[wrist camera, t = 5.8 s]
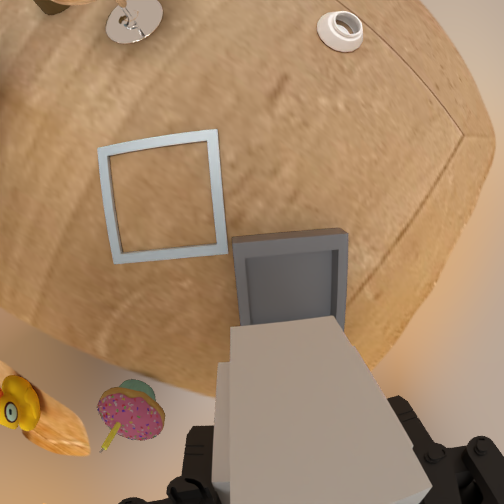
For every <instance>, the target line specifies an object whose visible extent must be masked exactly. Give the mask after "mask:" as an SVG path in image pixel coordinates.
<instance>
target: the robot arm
mask: <svg viewBox="0 0 504 504" xmlns="http://www.w3.org/2000/svg"><path fill="white" fill-rule="evenodd" d="M352 347H353V348H354V350H355V352H356V353H357V355H358V356H359V358H360V360H361V361H362V363H363V365H364V366H365V368H366V370H367V371H368V373H369V375H370V376H371V378H372V380H373V381H374V383H375V385H376V387H377V388H378V390H379V392H380V393H381V395H382V397H383V398H384V400H385V402H386V404H387V405H388V407H389V409H390V410H391V412H392V414H393V416H394V417H395V419H396V421H397V423H398V424H399V426H400V428H401V430H402V431H403V433H404V435H405V437H406V439H407V440H408V442H409V444H410V446H411V448H412V449H413V451H414V453H415V455H416V457H417V458H418V460H419V462H420V464H421V466H422V468H423V469H424V471H425V473H426V475H427V477H428V479H429V481H430V483H431V484H432V488H431V489H430V490H429V492H428V493H427V494H426V495H425V497H424V498H423V499H422V500H421V502H420V503H419V504H504V456H503V455H502V454H501V452H500V451H499V449H498V448H497V447H496V445H495V444H494V443H493V441H492V440H491V439H489V438H487V437H485V436H477V437H474V438H473V439H472V440H470V441H469V443H468V445H467V446H461V447H454V448H446V447H444V446H443V445H441V444H438V443H435V442H434V441H433V440H432V439H431V437H430V435H429V434H428V432H427V431H426V429H425V427H424V426H423V424H422V423H421V421H420V420H419V418H417V415H416V413H415V412H414V411H413V409H412V407H411V406H410V404H409V403H408V401H406V400H405V399H403V398H402V397H400V396H399V395H398V396H395V397H391V398H388V399H386V397H385V395H384V394H383V392H382V390H381V389H380V387H379V385H378V384H377V382H376V380H375V379H374V377H373V375H372V374H371V372H370V370H369V369H368V367H367V365H366V364H365V362H364V360H363V359H362V357H361V356H360V354H359V352H358V351H357V349H356V347H355V346H352ZM185 446H186V447H185V452H184V454H185V455H184V460H183V468H182V476H180V477H176V478H175V479H174V480H172V481H171V482H170V484H169V485H168V487H167V495H168V497H169V498H166V499H163V500H157V501H152V502H146V501H145V500H143V499H140V498H137V497H133V498H127V499H124V500H122V501H121V502H120V503H119V504H230V362H219V363H218V371H217V386H216V403H215V420H214V426H193V427H192V428H191V430H190V431H189V433H188V434H187V438H186V445H185Z"/></svg>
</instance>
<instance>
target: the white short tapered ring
mask: <svg viewBox="0 0 504 504" xmlns="http://www.w3.org/2000/svg"><path fill="white" fill-rule="evenodd" d="M335 20H339V21H343V22H344V23H346V24H347V25H348V26H349V27H350V28H351V29H352V31H353V33H354V34H349V32H348V31H347V29H346V28H345V27H343V26H341V25H337V24H336V21H335ZM317 32H318V34H319V36H320V38H321V40H322V41H323V42H324V43H325V44H326V45H327V46H329V47H331V48H332V49H334V50H337V51H341V52H351V51H354V50H355V49H357V48H359V47H360V45H361V43H362V41H363V29H362V24H361V21H360V20H359V19H358V17H356V16H355V15H354V14H352V13H350V12H346V11H341V12H328V13H326V14H325V15H323V16H321V18H320V20H319V21H318V23H317Z"/></svg>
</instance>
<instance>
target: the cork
mask: <svg viewBox="0 0 504 504" xmlns="http://www.w3.org/2000/svg"><path fill="white" fill-rule="evenodd" d="M34 2H35V3H36V4H37V5H38V6H39V7H40V8H41V10H42V11H43V12H44V13H45V14H48V15H55V14H57V13H60V12H62V11H64V10H65V9H67V8H68V7H69V6H71V5H62V4H58V3H55V2H53V1H51V0H34Z"/></svg>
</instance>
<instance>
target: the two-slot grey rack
mask: <svg viewBox="0 0 504 504" xmlns="http://www.w3.org/2000/svg"><path fill="white" fill-rule="evenodd" d="M232 246H233V256H234V267H235V277H236V287H237V297H238V306H239V316H240V325H241V326H247V325H258V324H268V323H277V322H286V321H294V320H303V319H311V318H318V317H325V316H334V317H335V319H336V321H337V322H338V324H339V326H340V327H341V329H342V330H343V332H344V323H345V310H346V293H347V270H348V233H347V232H345V231H344V230H342V229H341V228H330V229H317V230H305V231H293V232H281V233H270V234H258V235H247V236H236V237H232Z"/></svg>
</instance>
